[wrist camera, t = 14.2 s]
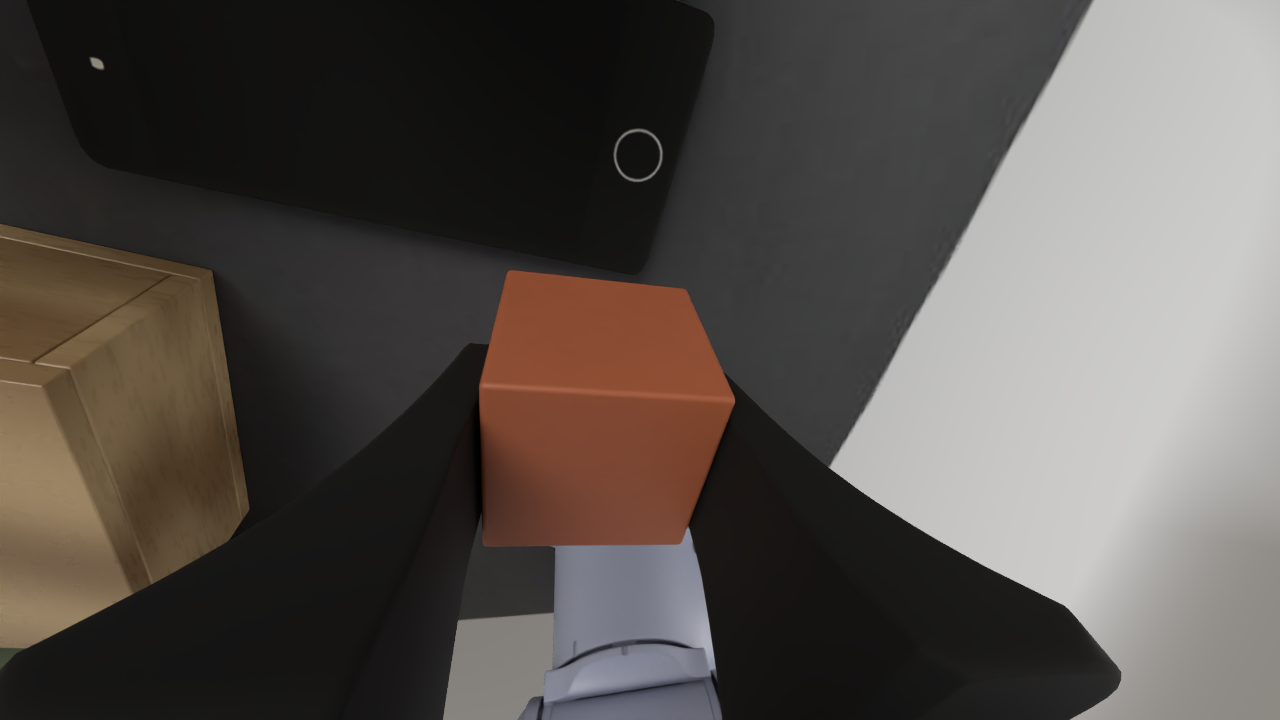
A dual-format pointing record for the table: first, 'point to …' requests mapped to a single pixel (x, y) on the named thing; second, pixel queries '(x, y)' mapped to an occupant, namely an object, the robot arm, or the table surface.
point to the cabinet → (107, 428)
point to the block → (596, 413)
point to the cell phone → (399, 109)
